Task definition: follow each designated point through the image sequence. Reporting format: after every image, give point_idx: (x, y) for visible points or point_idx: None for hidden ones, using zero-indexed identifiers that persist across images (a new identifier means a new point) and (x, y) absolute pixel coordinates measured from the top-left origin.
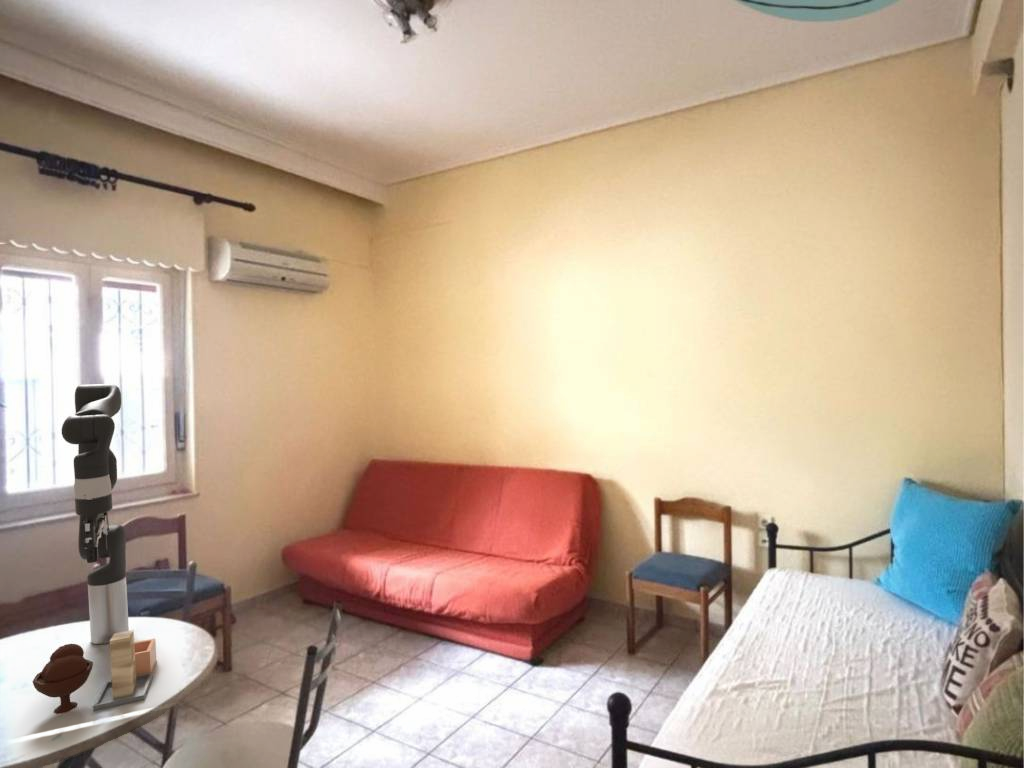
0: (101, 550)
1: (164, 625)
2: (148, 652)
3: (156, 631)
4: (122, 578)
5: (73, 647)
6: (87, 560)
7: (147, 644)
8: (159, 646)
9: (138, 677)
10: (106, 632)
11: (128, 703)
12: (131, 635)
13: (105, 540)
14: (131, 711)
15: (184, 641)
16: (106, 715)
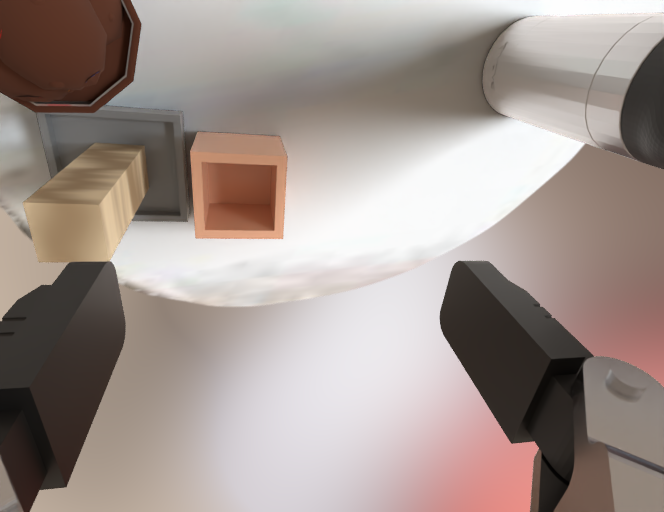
0: (448, 294)
1: (496, 196)
2: (196, 234)
3: (472, 183)
4: (636, 158)
5: (20, 63)
6: (65, 274)
7: (274, 217)
8: (375, 201)
9: (179, 190)
10: (501, 70)
11: None
12: (74, 259)
13: (485, 401)
14: (35, 189)
15: (368, 251)
16: (30, 134)
